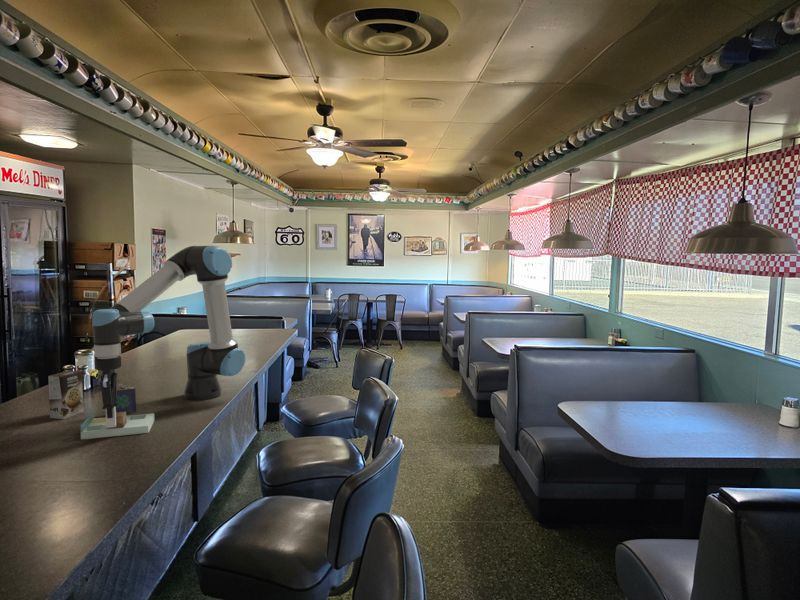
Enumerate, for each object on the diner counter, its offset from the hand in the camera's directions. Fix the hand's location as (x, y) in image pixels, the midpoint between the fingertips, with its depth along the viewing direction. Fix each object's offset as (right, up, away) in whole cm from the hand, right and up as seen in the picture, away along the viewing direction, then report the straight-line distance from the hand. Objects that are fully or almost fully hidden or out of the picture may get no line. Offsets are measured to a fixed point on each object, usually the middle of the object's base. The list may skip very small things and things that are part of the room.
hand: (111, 426), depth 164 cm
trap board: (-2, -3, +8) cm, 9 cm away
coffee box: (-30, -2, +23) cm, 38 cm away
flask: (-11, -2, +25) cm, 27 cm away
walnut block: (0, -1, +4) cm, 4 cm away
